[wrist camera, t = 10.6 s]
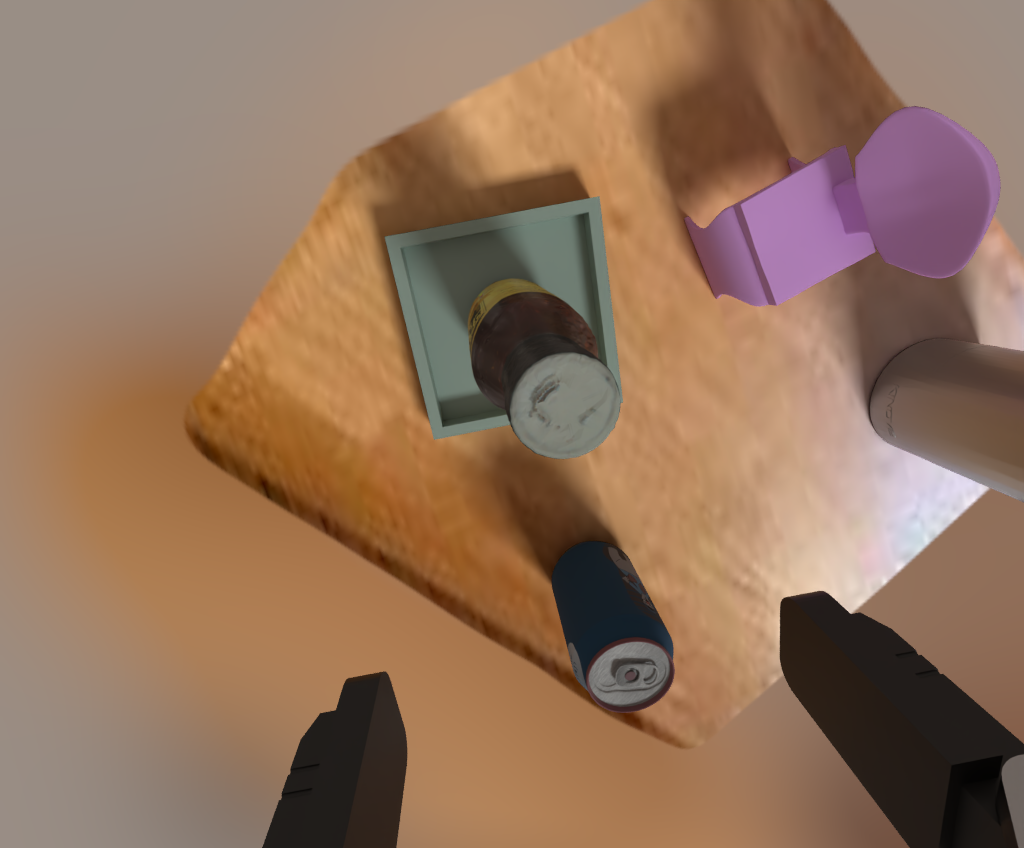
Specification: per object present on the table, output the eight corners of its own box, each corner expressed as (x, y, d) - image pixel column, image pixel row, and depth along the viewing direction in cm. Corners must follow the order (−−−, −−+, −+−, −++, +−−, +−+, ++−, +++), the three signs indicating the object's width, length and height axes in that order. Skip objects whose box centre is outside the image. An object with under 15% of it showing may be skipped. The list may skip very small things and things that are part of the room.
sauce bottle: (455, 293, 35) (440, 332, 16) (540, 265, 35) (625, 272, 16) (485, 380, 37) (502, 504, 18) (565, 354, 37) (666, 452, 18)
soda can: (545, 602, 44) (571, 720, 33) (553, 532, 42) (584, 632, 31) (622, 604, 45) (674, 720, 33) (634, 534, 43) (693, 633, 31)
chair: (671, 208, 35) (808, 170, 21) (787, 142, 34) (1011, 56, 20) (714, 314, 38) (862, 345, 23) (823, 254, 37) (1044, 249, 23)
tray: (591, 200, 34) (599, 196, 32) (614, 395, 39) (622, 402, 37) (389, 238, 34) (384, 236, 32) (436, 430, 39) (433, 439, 36)
